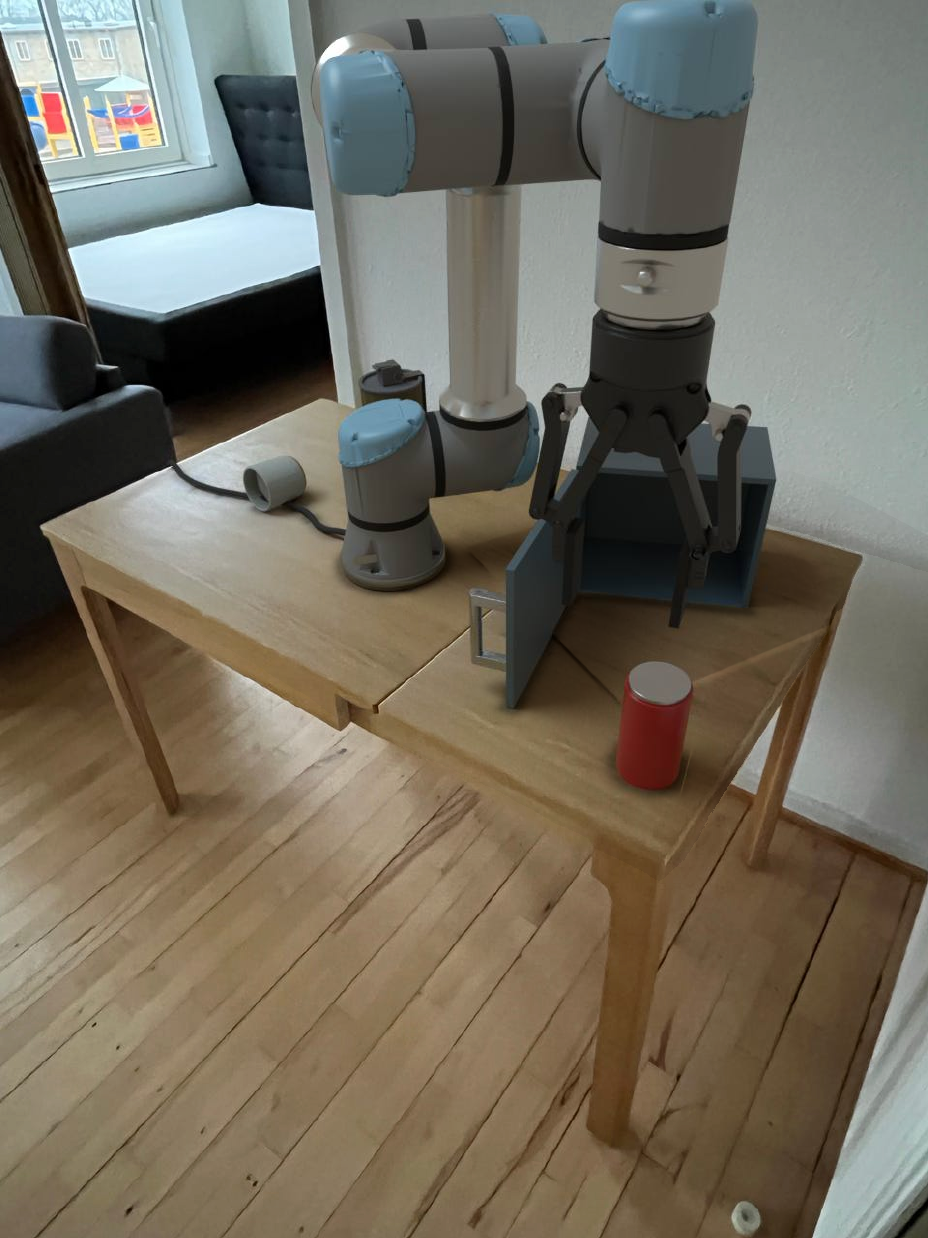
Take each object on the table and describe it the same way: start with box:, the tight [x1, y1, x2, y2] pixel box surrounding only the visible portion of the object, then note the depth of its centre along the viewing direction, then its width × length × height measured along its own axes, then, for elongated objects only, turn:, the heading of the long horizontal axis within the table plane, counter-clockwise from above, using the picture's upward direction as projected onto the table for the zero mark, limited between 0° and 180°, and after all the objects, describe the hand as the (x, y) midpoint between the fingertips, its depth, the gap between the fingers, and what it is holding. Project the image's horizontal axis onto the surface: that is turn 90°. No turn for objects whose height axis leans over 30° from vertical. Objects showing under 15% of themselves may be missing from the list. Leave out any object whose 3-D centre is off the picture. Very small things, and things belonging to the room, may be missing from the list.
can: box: [615, 660, 695, 791], centre depth 83 cm, size 7×7×12 cm
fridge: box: [575, 416, 777, 609], centre depth 110 cm, size 15×24×20 cm, turn 77°
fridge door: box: [468, 468, 579, 709], centre depth 98 cm, size 6×24×19 cm, turn 157°
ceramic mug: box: [242, 455, 307, 512], centre depth 135 cm, size 11×8×8 cm
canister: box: [357, 358, 428, 412], centre depth 136 cm, size 11×10×20 cm
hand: (622, 606), depth 64 cm, fingers open, 8 cm apart
